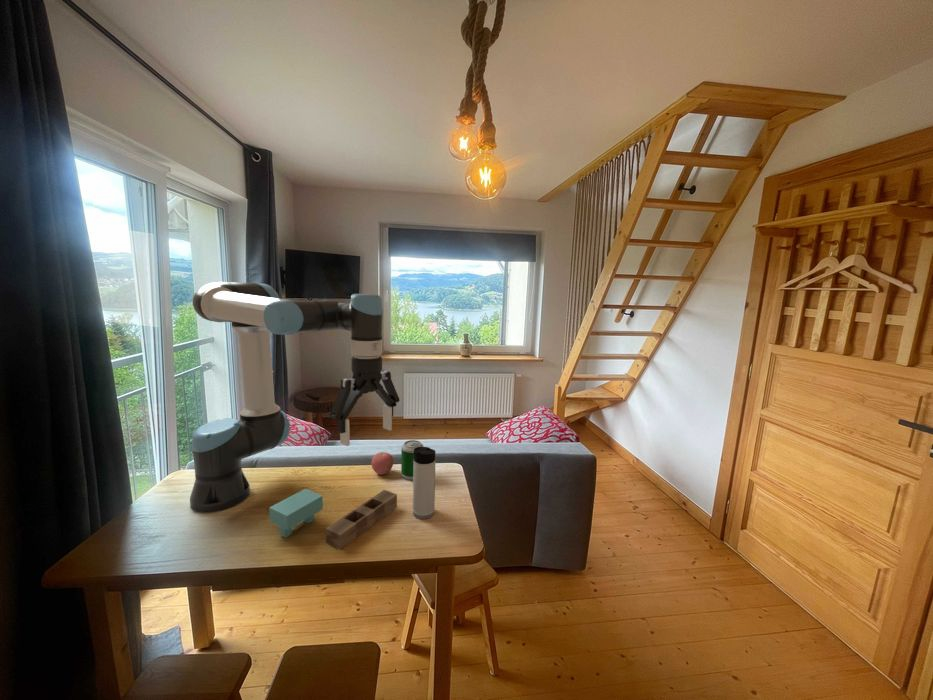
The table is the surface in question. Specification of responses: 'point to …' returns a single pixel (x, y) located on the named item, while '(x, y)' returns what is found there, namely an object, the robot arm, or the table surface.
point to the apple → (382, 463)
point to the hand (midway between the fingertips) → (367, 436)
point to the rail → (360, 519)
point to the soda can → (408, 458)
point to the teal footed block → (295, 510)
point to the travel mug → (423, 482)
